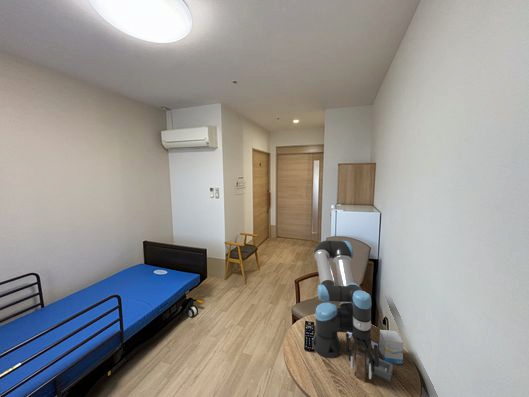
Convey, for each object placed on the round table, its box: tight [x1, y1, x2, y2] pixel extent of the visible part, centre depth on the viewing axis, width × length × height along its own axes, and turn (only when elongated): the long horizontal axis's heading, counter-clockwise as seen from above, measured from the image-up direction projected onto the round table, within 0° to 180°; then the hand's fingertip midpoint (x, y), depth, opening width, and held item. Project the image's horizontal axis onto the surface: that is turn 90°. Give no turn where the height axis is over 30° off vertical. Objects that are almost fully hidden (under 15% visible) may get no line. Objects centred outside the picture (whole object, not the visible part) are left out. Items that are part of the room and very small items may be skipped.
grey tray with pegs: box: [366, 355, 394, 383], centre depth 102 cm, size 10×7×4 cm
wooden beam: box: [355, 347, 367, 383], centre depth 98 cm, size 4×4×13 cm
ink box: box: [378, 329, 404, 365], centre depth 109 cm, size 8×8×12 cm
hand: (361, 372), depth 99 cm, fingers open, 7 cm apart
